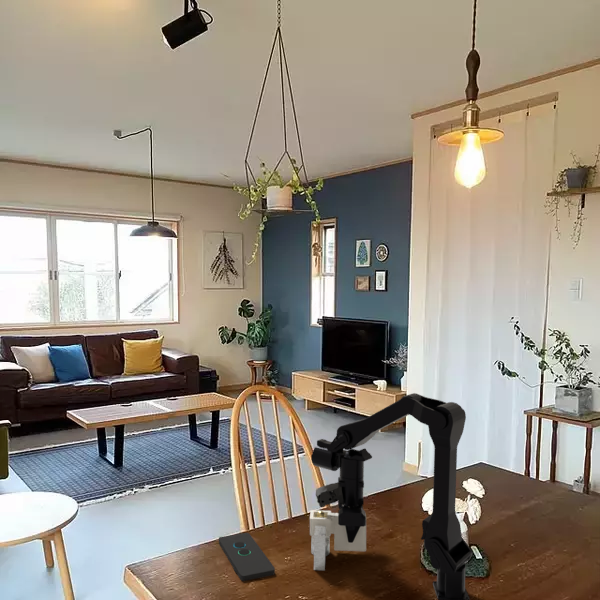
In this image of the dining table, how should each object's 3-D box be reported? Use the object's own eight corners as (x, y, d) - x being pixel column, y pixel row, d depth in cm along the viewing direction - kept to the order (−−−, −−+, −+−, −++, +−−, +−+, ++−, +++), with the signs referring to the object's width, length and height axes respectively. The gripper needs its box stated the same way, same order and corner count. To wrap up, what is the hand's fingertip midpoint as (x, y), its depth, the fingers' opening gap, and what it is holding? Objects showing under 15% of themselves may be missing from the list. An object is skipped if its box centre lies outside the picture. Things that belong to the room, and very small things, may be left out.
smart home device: (249, 531, 141) (276, 568, 123) (248, 538, 141) (276, 576, 123) (217, 536, 138) (240, 575, 119) (217, 543, 138) (240, 583, 119)
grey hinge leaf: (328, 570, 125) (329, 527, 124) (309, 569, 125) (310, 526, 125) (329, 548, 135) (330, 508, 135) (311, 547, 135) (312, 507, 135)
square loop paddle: (366, 553, 130) (366, 520, 130) (309, 552, 131) (309, 518, 131) (365, 544, 135) (365, 511, 135) (310, 542, 136) (310, 510, 136)
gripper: (319, 461, 142) (318, 521, 142) (316, 487, 123) (315, 556, 124) (362, 463, 141) (361, 523, 142) (366, 489, 123) (365, 559, 123)
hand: (350, 539), depth 133 cm, fingers closed on square loop paddle, 2 cm apart
